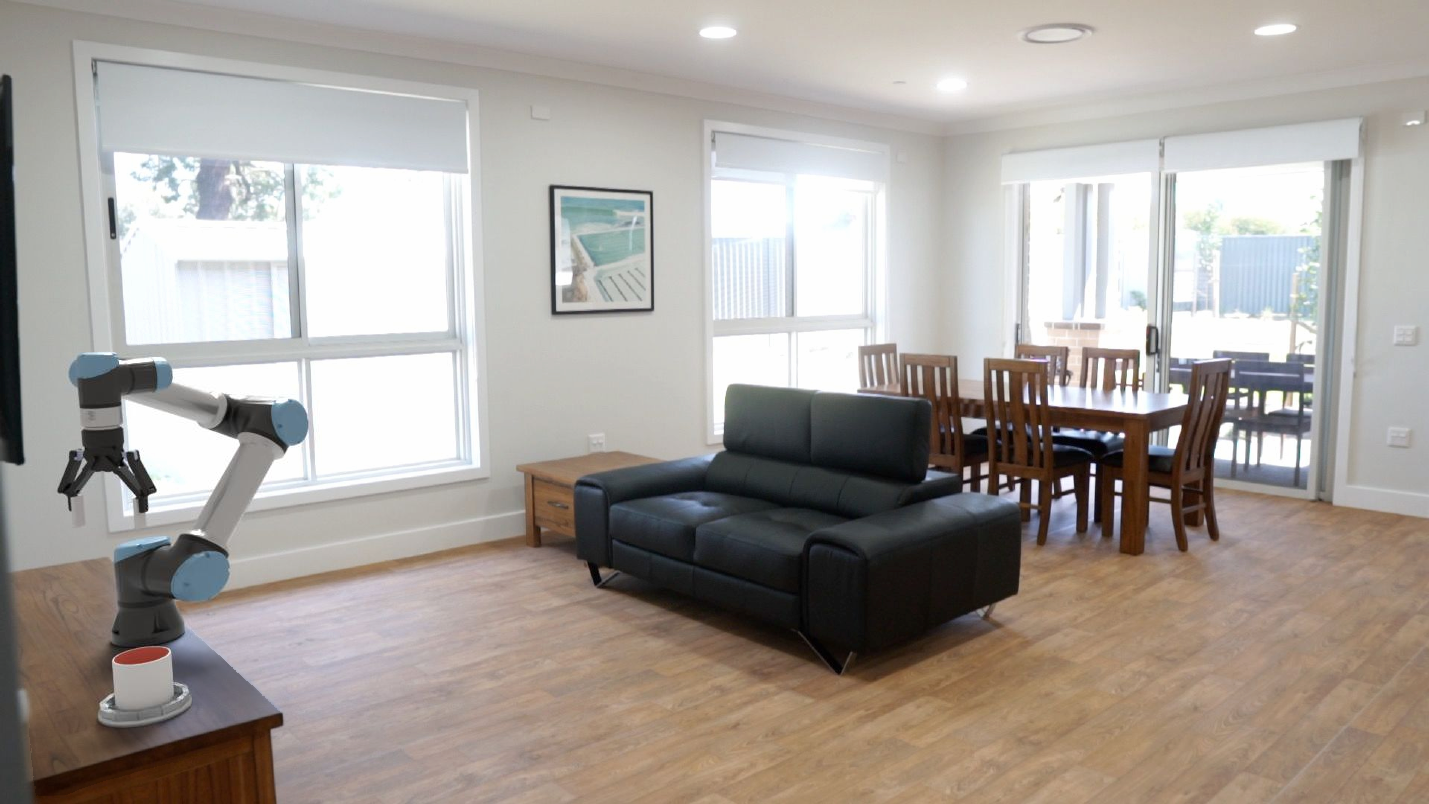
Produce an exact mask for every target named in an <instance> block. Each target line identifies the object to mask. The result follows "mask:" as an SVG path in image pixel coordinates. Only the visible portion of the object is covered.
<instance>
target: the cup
mask: <svg viewBox="0 0 1429 804" xmlns="http://www.w3.org/2000/svg"><path fill="white" fill-rule="evenodd" d="M172 658H173V657H172V651H171V649H170V648H168V647H165V646H154V645H151V646H142V647H136V648H133V649H132V648H131V649H129V650H126V651H124V652H121V653H119V654H117V655H115V656H114V657H113V658H112V660H111V663H112V666H111V667H112V676H113V677H112V678H113V679H112V680H113V690H114V691H113V693H115V704H116V707H117V708H118V709H119V710H120V711H123V712H132V711H142V710H147V709H152V708H156V707H160V706H163V705H165V704H167V703H169V702H170V701H171V700H172V698H173V696H174V687H173V682H174V676H173V662H172V660H173V659H172Z"/></svg>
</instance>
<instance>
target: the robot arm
mask: <svg viewBox="0 0 1429 804" xmlns="http://www.w3.org/2000/svg"><path fill="white" fill-rule="evenodd" d="M173 373H174V372H173V368H172V366H171V364H170V363H169V361H167V360H166V359H165V358H163V357H161V356H160V357H154V356H147V357H140V358H139V357H136V358H135V357H119V356H118V354H117V353H116V352H114V351H96V352H95V351H94V352H93V351H92V352H91V351H90V352H83V353H80V354H79V355H77V356H76V359H74V360H73V361H72V362H71V364H70V366H69V369H68V379H69V381H70V383H71V384H72V385H73V386H74V387H75V388H77V396H78V402H79V403H78V405H79V406H78V407H79V418H80V427H83V429H82V430H81V431H80V432H81V435H80V436H81V444H82V447H83V448H84V450H83V449H82V448H76V449H72V450H71V449H70V450H69V453H68V462H67V464H66V467H65V469H64V471H63V475H62V477H61V480H60V482H59V485H58V487H57V490H56V492H57V494H62V495H65V496H66V497H67V507H68V511H69V512H71V517H72V518H71V519H72V528H73V529H78V528H80V527H81V528H82V527H83V526H86V516H85V515H86V514H85V504H84V503H85V502H84V494H81V493H82V492H81V491H82V490H83V488H84V487H85V486H86V484H87V482H89V480H91V478H92V476H93V475H94V473H99V472H103V473H112V474H114V475H116V476H118V477H119V479H120V480H121V481H122V482H123V483H124V484H125V486H126V487H127V488H128V489H129V490H130V491H131V493H132V494H133V495H134V496H135V497H134V498H132V507H133V511H132V512H133V522H134V524H133V525H134V530H140V529H144V528H146V527H147V513H148V512H149V496H150V495H153V494H156V493H157V492H158V489H157V487H156V485H155V484H154V481H153V480H152V478H151V477H150V474H149V473H148V471H147V468H146V467H145V465H144V463H143V462H142V460H141V456H140V450H139V449H132V450H129V451H125V449H124V444H125V431H124V430H125V429H124V427H123V426H121V425H122V424H124V419H123V407H122V406H123V405H122V399H123V400H125V401H129V402H132V403H136V404H138V405H142V406H145V407H147V408H151V409H154V410H158V411H160V412H161V411H162V412H164V413H168V414H171V415H175V416H178V417H181V418H184V419H186V420H190V421H193V422H196V424H198V425H199V427H200V428H203V429H205V430H208V431H211V432H214V433H217V434H220V435H224V436H226V437H229V438H232V439H235V440H237V441H238V443H239V445H238V446H239V447H237V449H236V451H235V453H234V455H233V456H232V458H231V460H230V461H229V463H228V465H227V466H226V468H225V470H224V471H223V474H222V475H221V477H220V478H219V480H218V482H217V484H216V486H215V488H214V489H213V491H212V493H211V494H210V496H209V498H208V499H207V501H206V503H205V505H204V506H203V508H202V510H201V512H200V513H199V515H198V517H197V518H196V520H195V521H194V524H193V525H192V527H191V529H190V530H187V531H184V532H181V533H179V536H178V537H177V539H176V541H175V542H174V544H173V546H172V541H171V539H170V537H169V536H167V535H160V536H158V535H157V536H150V537H144V538H139V539H134V540H130V541H126V542H123V543H121V544H119V545H118V546H116V547H115V549H114V551H113V563H112V564H113V570H114V579H115V589H116V590H115V591H116V601H117V602H116V604H117V610H116V613H115V616H114V621H113V624H112V627H111V631H110V639H111V640H110V641H111V644H113V645H114V646H117V647H122V648H142V647H151V646H154V645H158V644H163V643H164V644H165V643H166V642H170V641H173V640H174V639H177V638H179V637H181V636H182V635H184V633H185V631H186V627H185V620H184V617H183V616H182V613H181V611H180V609H179V607H178V604H177V603H176V601H175V600H177V601H180V602H185V603H202V602H206V601H209V600H212V599H213V598H215V597H217V596H218V595H219V594H220V593H221V592H222V591H223V590H224V588H225V586H226V585H227V583H228V581H229V578H230V575H231V572H230V571H229V570H230V569H231V567H230V566H231V565H230V562H229V557H230V554H231V553H230V551H229V547H228V545H229V543H230V540H231V538H232V537H233V535H234V533H235V532H236V530H237V528H238V526H239V524H240V522H241V521H242V519H243V517H244V516H245V513H246V512H247V510H248V508H249V507H250V504H251V503H252V501H253V499H254V497H255V495H256V494H257V492H258V490H259V488H260V486H261V485H262V482H263V481H264V479H265V478H266V476H267V474H268V472H269V470H270V468H271V467H272V465H273V463H274V462H275V461H276V460H280V459H282V458H284V456H285V454H286V453H287V451H288V449H289V447H290V446H291V447H293V446H297V445H299V444H301V443H302V442H303V441H304V440H305V439H306V437H307V435H308V433H309V424H310V421H309V418H308V416H309V415H308V413H307V410H306V408H305V407H304V405H303V404H302V403H301V402H300V401H298V400H297V399H294V398H290V397H288V398H287V397H284V396H278V397H275V396H272V397H271V396H261V395H260V396H258V395H241V394H240V395H236V394H228V393H224V392H220V391H219V390H216V391H215V390H213V391H209V392H208V391H204V390H202V389H199V388H197V387H193V386H190V385H187V384H183V383H181V382H178V381H175V380H173V379H174V376H173ZM83 460H85V462H86V463H85V464H84V466H83V467H82V468H81V465H82V463H83ZM125 461H127V463H126V462H125ZM80 468H81V472H80V473H79V474H78V472H79V470H80ZM129 468H130V469H129ZM77 475H78V476H77Z"/></svg>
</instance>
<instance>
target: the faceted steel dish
mask: <svg viewBox="0 0 1429 804" xmlns="http://www.w3.org/2000/svg"><path fill="white" fill-rule="evenodd" d="M173 687H174V696H173V698H172V700H171V701H170V702H169V703H167V704H165V705H163V706H160V707H156V708H152V709H147V710H142V711H132V712H123V711H120V710H119V709H118V708H117V707H116V704H115V693H114V692H113V693H110V694H109V695H107V696H106V697H105V698H103V700H101V701H100V702H99V710H98V712H97V719H98V722H99V723H100V724H101V725H103V726H105V727H110V728H117V729H118V728H119V729H120V728H121V729H123V728H124V729H125V728H126V729H129V728H138V727H144V726H145V727H146V726H150V725H153V724H158V723H161V722H165V721H168V720H171V719H173V718H175V717H177V716H179V715H181V714H183V713H185V712H186V711H188V709H190V707H191V706H192V703H193V698H192V694H191V693H190V692H191V691H190V690H189V687H188V686H187V684H183V683H180V682H175V681H173Z"/></svg>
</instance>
